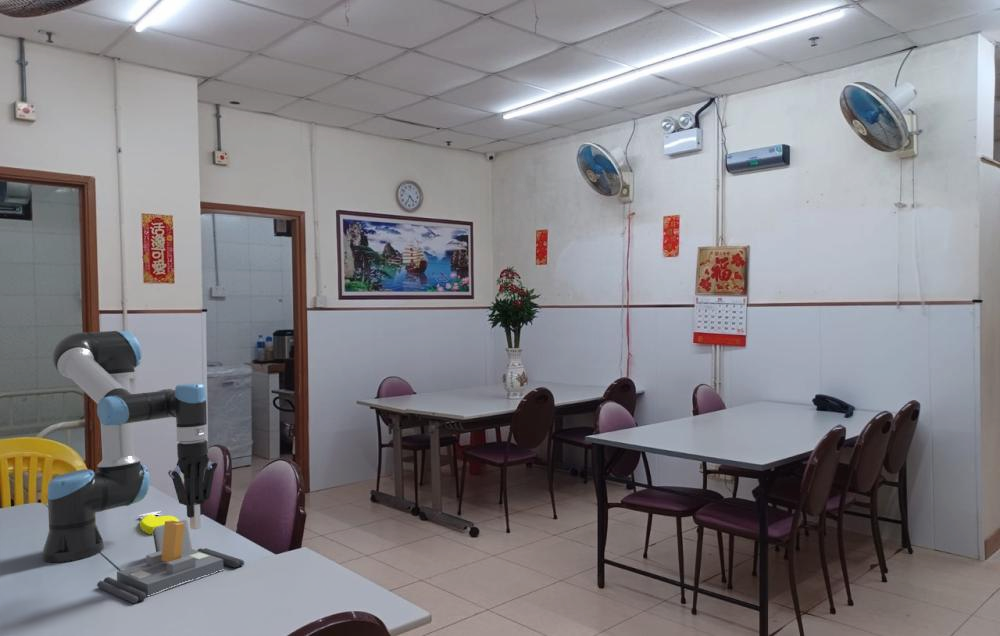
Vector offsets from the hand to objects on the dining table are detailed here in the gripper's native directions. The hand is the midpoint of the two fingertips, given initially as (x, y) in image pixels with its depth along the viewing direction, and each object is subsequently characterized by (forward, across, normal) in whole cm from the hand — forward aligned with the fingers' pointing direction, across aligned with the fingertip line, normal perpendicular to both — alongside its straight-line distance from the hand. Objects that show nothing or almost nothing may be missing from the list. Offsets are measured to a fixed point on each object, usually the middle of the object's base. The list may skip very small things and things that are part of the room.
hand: (195, 528), depth 186 cm
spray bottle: (+12, +15, +51) cm, 55 cm away
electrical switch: (+11, +2, +17) cm, 20 cm away
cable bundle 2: (+11, +6, 0) cm, 12 cm away
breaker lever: (+7, -7, 0) cm, 10 cm away
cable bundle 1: (+11, -19, 0) cm, 22 cm away
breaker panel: (+11, -7, 0) cm, 13 cm away
